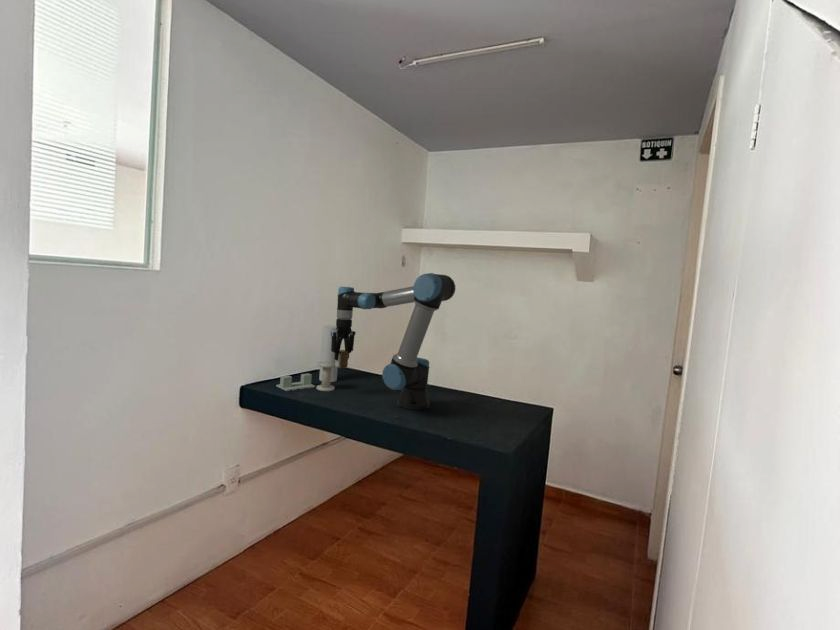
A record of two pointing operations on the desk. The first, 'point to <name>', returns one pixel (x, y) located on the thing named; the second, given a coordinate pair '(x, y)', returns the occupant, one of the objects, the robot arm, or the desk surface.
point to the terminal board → (288, 385)
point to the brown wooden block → (343, 358)
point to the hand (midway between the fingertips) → (341, 366)
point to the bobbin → (326, 376)
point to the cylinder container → (328, 351)
